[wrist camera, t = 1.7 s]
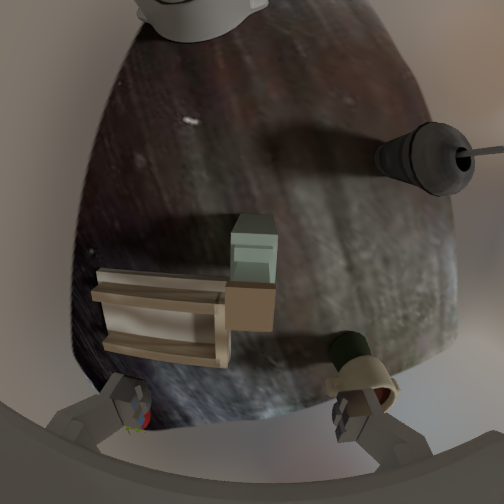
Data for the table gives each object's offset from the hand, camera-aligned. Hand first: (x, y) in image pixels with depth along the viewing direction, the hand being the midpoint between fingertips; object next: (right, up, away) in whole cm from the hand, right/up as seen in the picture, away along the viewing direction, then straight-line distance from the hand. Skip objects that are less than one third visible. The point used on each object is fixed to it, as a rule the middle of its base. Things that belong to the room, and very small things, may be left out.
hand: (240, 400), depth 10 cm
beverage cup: (+18, +18, +21) cm, 33 cm away
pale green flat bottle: (+1, +7, +25) cm, 26 cm away
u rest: (-13, -3, +28) cm, 31 cm away
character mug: (+15, -9, +29) cm, 34 cm away
